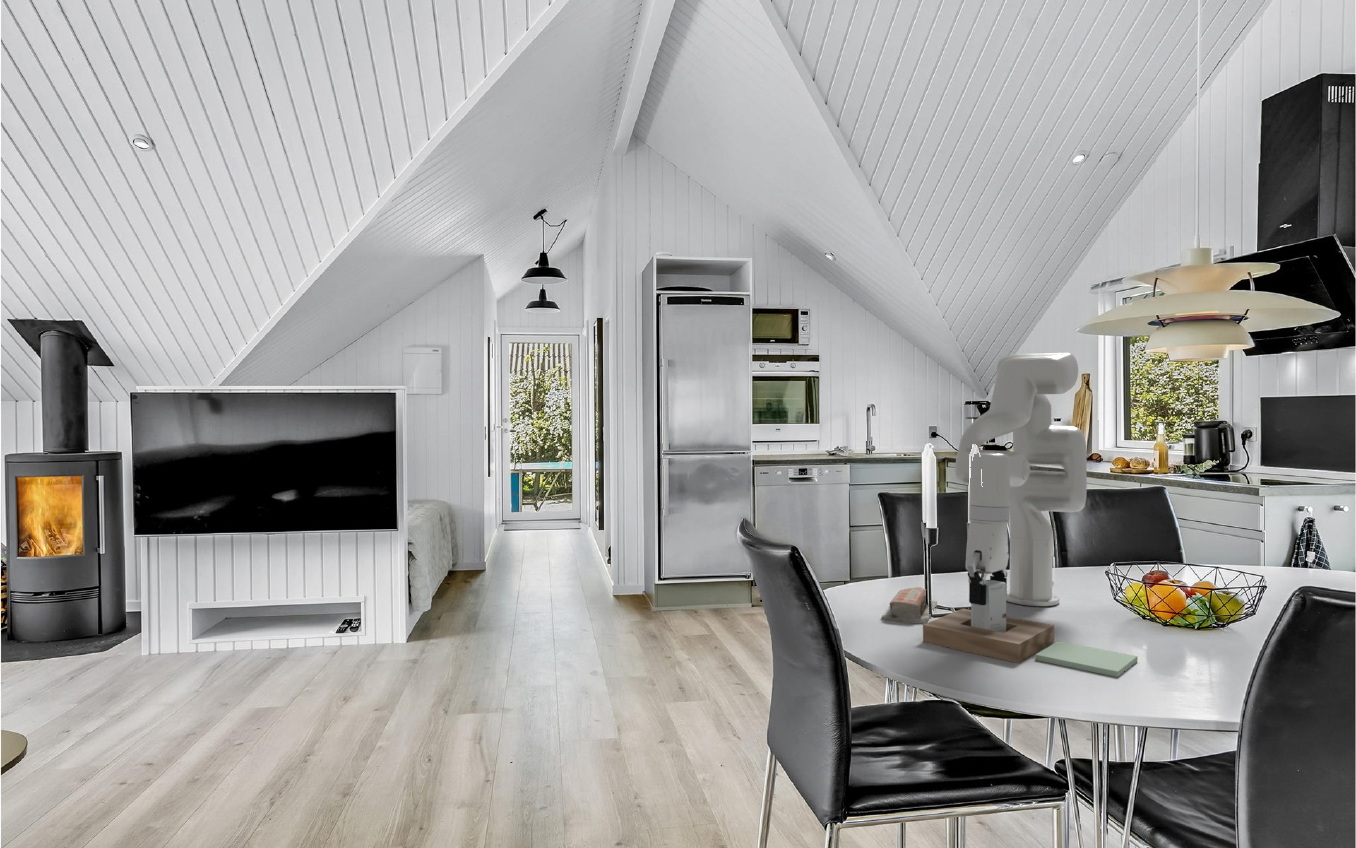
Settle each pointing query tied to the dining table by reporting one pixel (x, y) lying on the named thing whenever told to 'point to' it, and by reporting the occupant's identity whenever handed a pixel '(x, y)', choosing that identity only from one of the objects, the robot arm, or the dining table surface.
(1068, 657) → the mat
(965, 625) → the pocket block
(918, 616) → the pink and beige block
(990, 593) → the skincare box
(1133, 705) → the dining table surface
